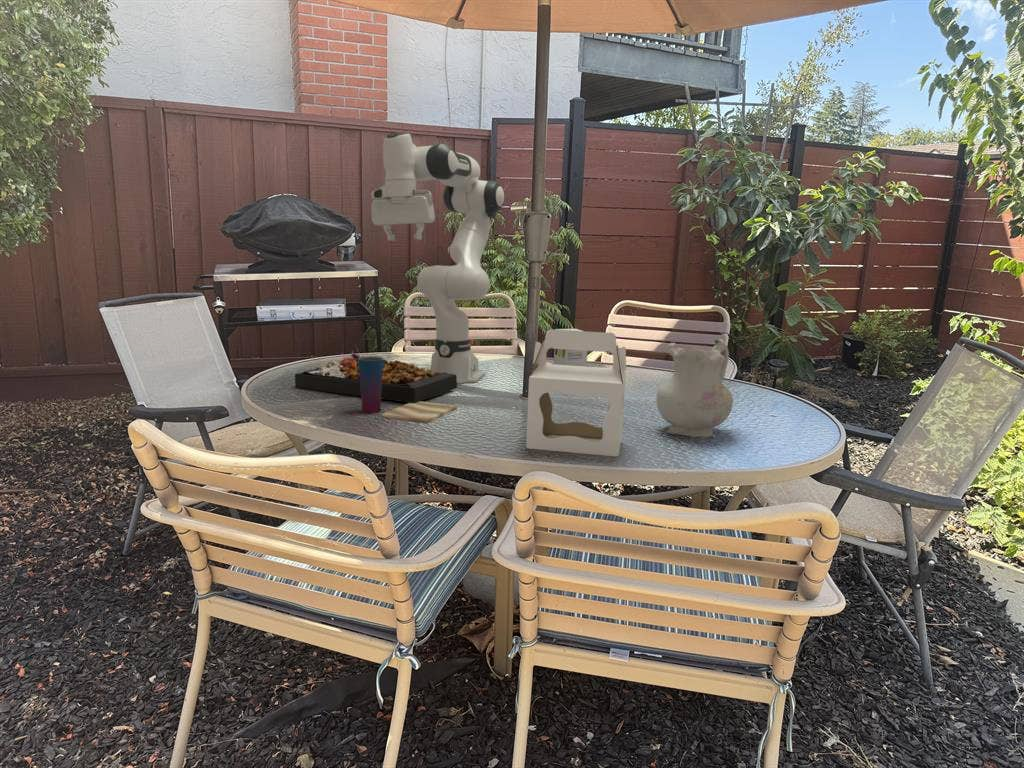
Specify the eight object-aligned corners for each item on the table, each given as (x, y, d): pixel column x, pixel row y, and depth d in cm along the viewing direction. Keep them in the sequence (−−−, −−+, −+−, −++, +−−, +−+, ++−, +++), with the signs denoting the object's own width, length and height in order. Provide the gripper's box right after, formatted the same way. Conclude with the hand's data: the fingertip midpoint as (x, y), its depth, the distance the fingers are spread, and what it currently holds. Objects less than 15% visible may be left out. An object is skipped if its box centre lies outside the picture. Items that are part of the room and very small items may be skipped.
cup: (387, 409, 198) (387, 357, 195) (376, 414, 191) (376, 361, 188) (365, 407, 200) (365, 355, 197) (354, 412, 193) (353, 359, 190)
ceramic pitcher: (680, 421, 200) (681, 335, 196) (747, 429, 187) (749, 337, 183) (643, 436, 183) (643, 342, 179) (714, 446, 171) (715, 345, 167)
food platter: (295, 387, 222) (293, 355, 220) (344, 375, 243) (343, 346, 241) (414, 403, 203) (414, 368, 201) (456, 388, 225) (456, 356, 223)
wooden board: (414, 403, 206) (414, 400, 206) (457, 408, 201) (457, 406, 201) (382, 416, 190) (382, 413, 190) (427, 423, 185) (427, 420, 185)
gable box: (622, 441, 174) (629, 330, 168) (619, 457, 161) (627, 337, 155) (534, 434, 178) (539, 325, 172) (525, 448, 165) (529, 331, 160)
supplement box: (552, 373, 259) (554, 328, 256) (573, 372, 263) (576, 328, 259) (564, 378, 251) (567, 332, 247) (586, 377, 254) (589, 331, 251)
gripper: (437, 189, 199) (440, 238, 202) (379, 193, 208) (383, 241, 211) (425, 188, 193) (428, 239, 196) (366, 193, 202) (370, 241, 205)
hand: (404, 240), depth 203 cm, fingers open, 8 cm apart
